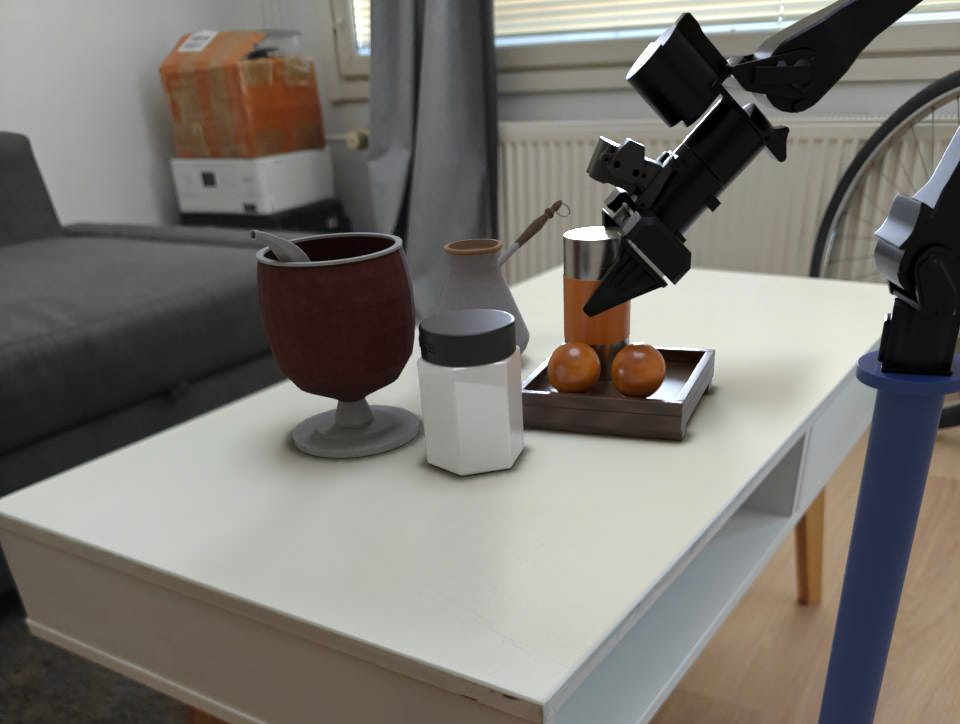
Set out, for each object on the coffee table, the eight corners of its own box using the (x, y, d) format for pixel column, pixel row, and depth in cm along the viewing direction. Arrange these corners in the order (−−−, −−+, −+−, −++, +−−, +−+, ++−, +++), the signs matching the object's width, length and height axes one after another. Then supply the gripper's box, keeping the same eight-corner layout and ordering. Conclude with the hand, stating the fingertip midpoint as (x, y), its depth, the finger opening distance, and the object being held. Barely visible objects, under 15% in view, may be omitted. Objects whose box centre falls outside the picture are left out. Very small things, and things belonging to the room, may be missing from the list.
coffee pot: (483, 386, 99) (473, 237, 91) (410, 369, 106) (395, 228, 98) (603, 337, 112) (604, 201, 103) (531, 324, 118) (526, 196, 110)
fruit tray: (712, 385, 95) (718, 310, 91) (680, 443, 83) (685, 360, 79) (564, 376, 100) (563, 305, 96) (513, 429, 88) (509, 351, 84)
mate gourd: (350, 400, 98) (320, 194, 87) (455, 420, 91) (437, 199, 80) (243, 451, 88) (193, 226, 77) (352, 478, 81) (314, 234, 70)
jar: (449, 436, 88) (437, 306, 81) (531, 440, 86) (527, 307, 79) (416, 474, 81) (401, 335, 74) (505, 479, 79) (498, 337, 72)
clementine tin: (606, 356, 97) (607, 223, 90) (641, 372, 92) (646, 232, 85) (552, 368, 95) (549, 233, 88) (586, 385, 90) (586, 243, 83)
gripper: (628, 92, 88) (517, 224, 95) (659, 106, 72) (524, 264, 79) (705, 177, 92) (594, 299, 99) (750, 208, 77) (614, 350, 83)
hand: (581, 301), depth 90 cm, fingers open, 9 cm apart
